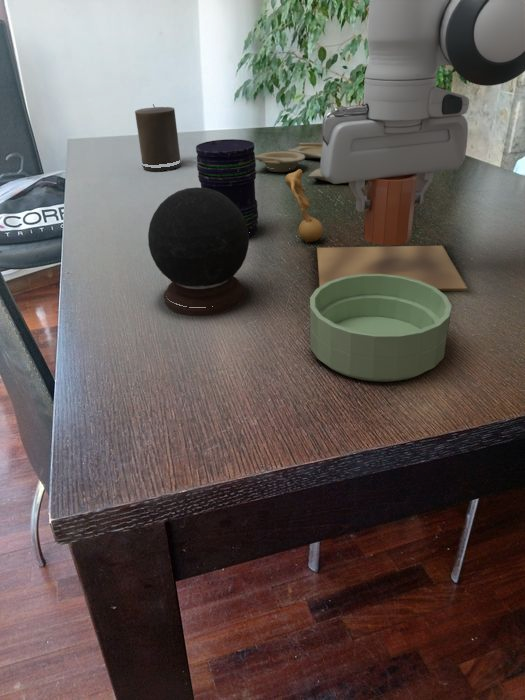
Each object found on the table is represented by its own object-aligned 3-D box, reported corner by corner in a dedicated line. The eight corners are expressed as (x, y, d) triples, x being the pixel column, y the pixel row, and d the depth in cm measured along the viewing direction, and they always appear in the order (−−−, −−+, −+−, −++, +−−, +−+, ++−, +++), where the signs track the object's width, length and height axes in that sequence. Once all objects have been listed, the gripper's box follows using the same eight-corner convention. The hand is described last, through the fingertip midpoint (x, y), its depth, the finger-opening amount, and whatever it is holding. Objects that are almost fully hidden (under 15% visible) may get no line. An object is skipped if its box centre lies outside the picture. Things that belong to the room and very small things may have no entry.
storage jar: (270, 231, 101) (267, 143, 93) (229, 246, 95) (222, 154, 88) (233, 219, 107) (227, 136, 100) (192, 233, 102) (182, 146, 94)
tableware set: (356, 190, 121) (357, 170, 119) (239, 177, 134) (238, 159, 132) (407, 154, 146) (409, 138, 144) (305, 146, 159) (305, 131, 157)
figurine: (321, 250, 92) (322, 175, 86) (284, 250, 93) (283, 176, 87) (323, 232, 99) (324, 162, 93) (288, 232, 100) (287, 163, 94)
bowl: (429, 316, 72) (435, 272, 69) (458, 385, 59) (466, 335, 56) (309, 317, 73) (309, 274, 70) (310, 385, 60) (311, 336, 57)
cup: (406, 228, 85) (412, 167, 80) (413, 244, 80) (420, 180, 75) (361, 229, 86) (365, 168, 81) (366, 245, 80) (370, 181, 75)
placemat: (442, 247, 91) (442, 245, 91) (466, 290, 78) (467, 288, 77) (317, 249, 93) (317, 247, 92) (319, 292, 79) (319, 289, 79)
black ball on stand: (137, 300, 79) (119, 193, 71) (206, 270, 87) (197, 170, 79) (202, 329, 71) (189, 212, 64) (271, 292, 80) (267, 185, 72)
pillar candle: (164, 173, 140) (156, 107, 132) (135, 169, 144) (125, 106, 137) (189, 164, 147) (182, 101, 139) (160, 161, 151) (152, 100, 144)
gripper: (332, 111, 68) (329, 223, 75) (480, 98, 73) (464, 204, 80) (313, 104, 73) (312, 209, 81) (453, 92, 78) (440, 193, 85)
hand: (389, 207), depth 80 cm, fingers closed on cup, 7 cm apart
